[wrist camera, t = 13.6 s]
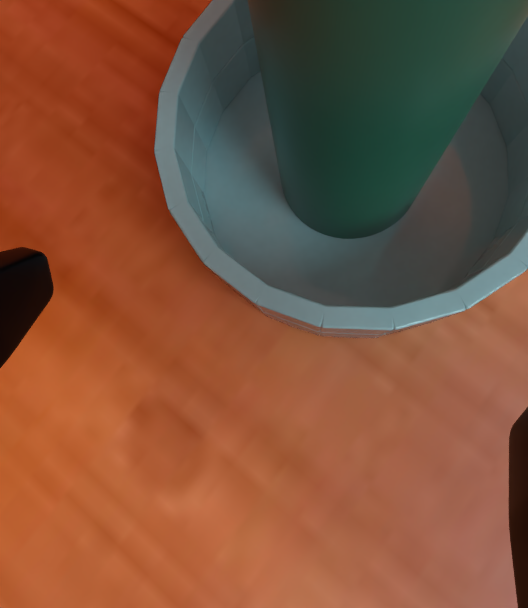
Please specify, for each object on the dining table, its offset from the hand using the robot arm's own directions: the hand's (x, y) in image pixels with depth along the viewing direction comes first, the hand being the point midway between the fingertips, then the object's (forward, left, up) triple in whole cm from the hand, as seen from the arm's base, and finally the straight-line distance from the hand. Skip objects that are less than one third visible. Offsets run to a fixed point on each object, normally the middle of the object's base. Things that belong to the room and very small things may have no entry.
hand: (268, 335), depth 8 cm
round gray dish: (+6, -4, -10) cm, 12 cm away
